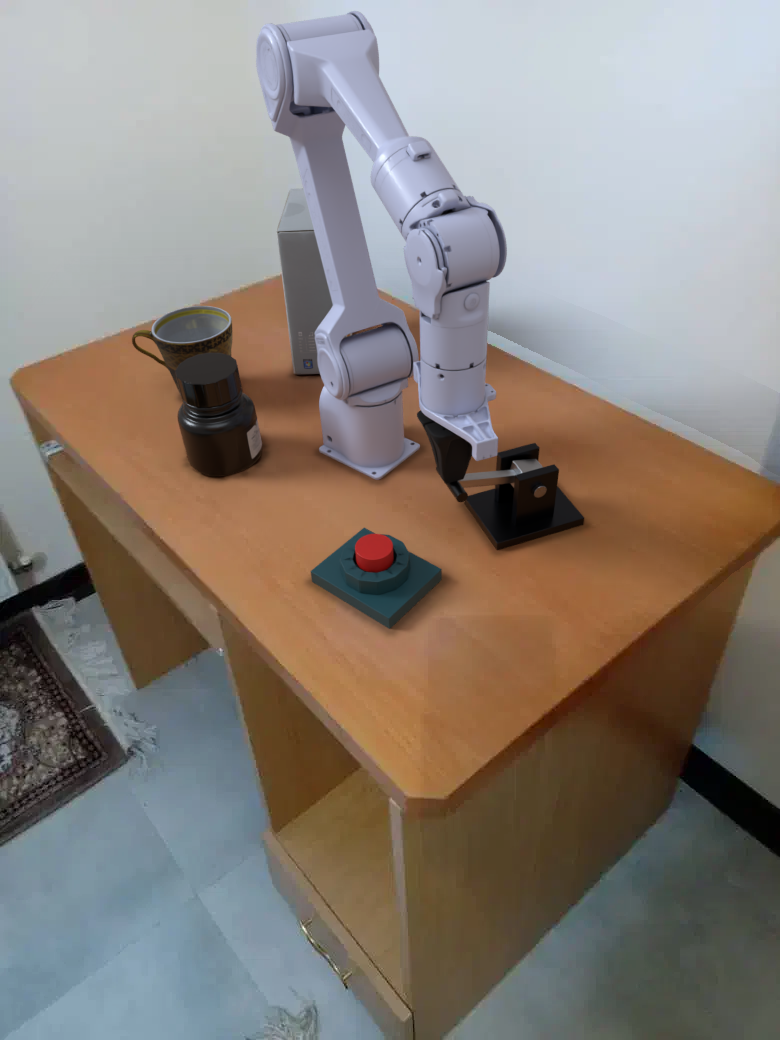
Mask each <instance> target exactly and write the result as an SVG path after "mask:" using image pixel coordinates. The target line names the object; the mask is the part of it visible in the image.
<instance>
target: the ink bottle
mask: <svg viewBox="0 0 780 1040" xmlns="http://www.w3.org/2000/svg"><path fill="white" fill-rule="evenodd" d="M175 373H176V378H177V382H178V386H179V390H180V393H179V395H180V394H181V395H180V397H181V400H182V404H181V405H180V406H179V409H178V411H177V416H176V417H177V424H178V427H179V431H180V435H181V439H182V442H183V446H184V450H185V453H186V458H187V460H188V463H189V465H190V466H191V467H192V469H194V470H195V471H196V472H198V473H200V474H202V475H205V476H210V477H226V476H231V475H234V474H237V473H240V472H242V471H245V470H248V469H249V468H250V467H252V466H253V465H254V464H256V463H257V462H258V461H259V459H260V458H261V456H262V454H263V442H262V441H263V440H262V437H261V431H260V425H259V421H258V414H257V410H256V406H255V404H254V401H253V400H252V398H251V397H250V396H249V395H248V394H246V393H245V392H243V385H242V382H241V381H242V380H241V376H240V371H239V366H238V362H237V359H235V358H234V357H233V356H232V355H231V356H230V355H226V354H222V353H205V354H198V355H196V356H193V357H190V358H187V359H186V360H185V361H183V362H182V363H180V364H179V365H178V367H177V369H176V370H175Z"/></svg>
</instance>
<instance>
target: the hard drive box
mask: <svg viewBox="0 0 780 1040" xmlns="http://www.w3.org/2000/svg"><path fill="white" fill-rule="evenodd" d="M276 240H277V247H278V257H279V263H280V271H281V272H280V273H281V281H282V287H283V288H282V289H283V295H284V297H283V298H284V305H285V313H286V321H287V330H288V338H289V345H290V356H291V361H292V362H291V363H292V370H293V374H294V375H297V376H299V375H320V372H319V368H318V361H317V355H318V353H317V347H316V342H315V331H316V329H317V328H318V326H319V325H320V323H321V322H322V321H323V319H324V318H325V317H326V315H327V314H328V312H329V311H330V310H331V308H332V306H333V303H332V299H331V295H330V291H329V287H328V284H327V280H326V276H325V272H324V268H323V264H322V260H321V256H320V252H319V248H318V244H317V240H316V236H315V232H314V228H313V224H312V220H311V216H310V213H309V209H308V205H307V201H306V197H305V193H304V189H303V187H302V188H290V189H289V191H288V194H287V197H286V200H285V203H284V206H283V209H282V213H281V216H280V219H279V222H278V226H277V229H276ZM351 335H353V333H350V334H348V335H346V336H345V337H348V336H351ZM345 337H344V338H345Z"/></svg>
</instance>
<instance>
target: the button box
mask: <svg viewBox="0 0 780 1040" xmlns="http://www.w3.org/2000/svg"><path fill="white" fill-rule="evenodd" d="M369 534H376V533H375V532H373V531H372V530H370V529H368V528H367V527H363V528H361V529H360V530H359V531H358V532H356V534H354V535H352V537H350V538H349V539H348V540H347V541H346V542H344V543H343V544H342V545H341V546H340V547H338V548H337V549H336V550H334V552H332V553H331V554H330V555H328V556H327V557H326V558H325V559H324V560H322V561H321V562H320V563H318V564H317V565H316V566H314V568H312V569H311V570H310V578H311V583H313V584H315V585H317V586H318V587H320V588H322V589H323V590H324V591H326V592H328V593H329V594H331V595H333V596H335V597H336V598H338V599H340V600H341V601H343V602H344V603H346V604H347V605H349V606H351V607H353V608H354V609H355V610H357V611H359V612H361V613H362V614H364V615H366V616H367V617H369V618H371V619H372V620H374V621H376V622H377V623H379V624H380V625H382V626H383V627H385V628H387V629H388V630H391V629H392V628H393V627H394V626H395V625H396V624H397V623H398V622H399V621H400V620H401V619H402V618H404V616H405V615H407V613H409V611H410V610H412V609H413V608H414V607H415V606H416V605H417V604H418V603H419V602H420V601H421V600H422V599H423V598H424V597H425V596H426V595H427V594H429V592H431V591H432V590H433V589H434V588H435V587H436V586H437V585H438V584H439V583H440V582H441V581H442V579H443V577H442V576H443V572H442V571H443V570H442V568H441V567H439V566H437V565H435V564H433V563H431V562H429V561H428V560H426V559H424V558H422V557H421V556H418V555H416V554H414V553H413V552H411V551H409V550H408V548H407V547H406V545H405V543H404V542H403V541H402V540H400V539H398V538H396V537H394V536H393V535H390V534H383V533H381V534H382V535H385V536H387V537H388V538H389V539H390V540H391V541H392V543H393V555H394V561H393V563H392V565H391V566H390V567H389V568H388V569H386V570H384V571H381V572H377V573H373V572H366V571H364V570H362V569H361V568H360V567H359V566H358V565H357V562H356V553H355V545H356V543H357V541H358V540H359V539H360V538H361V537H363V536H365V535H369Z"/></svg>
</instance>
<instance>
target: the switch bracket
mask: <svg viewBox="0 0 780 1040" xmlns="http://www.w3.org/2000/svg"><path fill="white" fill-rule="evenodd" d="M539 457H540V446H539V445H538V444H537V443H536V442H533V443H529V444H524V445H521V446H518V447H513V448H509V449H506V450H502V451H498V452H497V456H496V462H495V463H496V466H495V471H500V470H510V468H511V465H512V461H514V460H525V459H537V461H538V462H539ZM559 474H560V469H559V468H558V466H557V465H556V464H555V463H554V464H550V465H547V466H543V467H542V468H539V469H535V470H531V471H528V472H524V473H520V474H517V475H515V481H514V488H513V486H512V485H511V484H510V483H509V484H499V485H494V488H492V489H491V488H490V489H488V490H484V491H480V492H477V493H473V494H470V495H469V494H468V498H467V499H466V500H465V501H464V505H465V507H466V508H467V510H468V512H470V514H471V515H472V517H473V518H474V520H475V521H476V522H477V524H478V526H479V527H480V529H481V530H482V531H483V533H484V534H485V536H486V537H487V538H488V540H489V541H490V543H491V545H492V546H493V547H494V549H495V550H496V551H500V550H503V549H507V548H510V547H514V546H517V545H520V544H524V543H526V542H530V541H532V540H537V539H540V538H544V537H548V536H550V535H554V534H557V533H560V532H564V531H567V530H570V529H574V528H578V527H581V526H584V524H585V517H584V516H583V514H582V512H580V511H579V509H578V508H577V507H576V506H575V505H574V504H573V502H572V501H571V500H570V499H569V498H568V497H567V495H566V494H565V493H564V492H563V491H562V490H561V488H560V487H559V486H558V482H559V476H560V475H559Z"/></svg>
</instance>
